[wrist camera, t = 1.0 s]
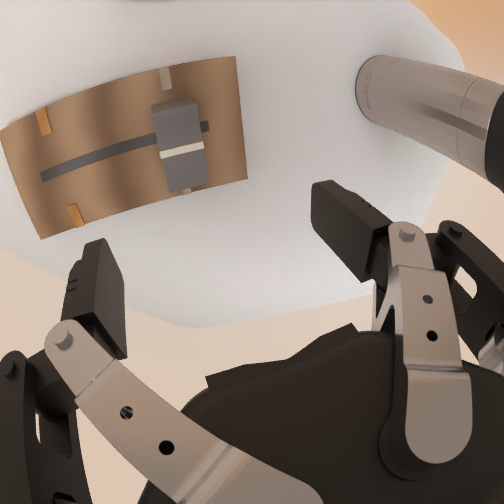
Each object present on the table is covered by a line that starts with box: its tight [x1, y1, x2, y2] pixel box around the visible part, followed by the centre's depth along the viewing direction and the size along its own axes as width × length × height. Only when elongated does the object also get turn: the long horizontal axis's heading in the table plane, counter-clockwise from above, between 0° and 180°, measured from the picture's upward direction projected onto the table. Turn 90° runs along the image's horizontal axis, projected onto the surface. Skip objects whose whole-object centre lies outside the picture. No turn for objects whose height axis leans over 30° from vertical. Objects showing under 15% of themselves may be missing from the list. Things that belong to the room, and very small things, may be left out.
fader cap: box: [151, 97, 209, 193], centre depth 20 cm, size 3×6×5 cm, turn 5°
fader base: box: [0, 56, 248, 240], centre depth 22 cm, size 22×12×3 cm, turn 95°
